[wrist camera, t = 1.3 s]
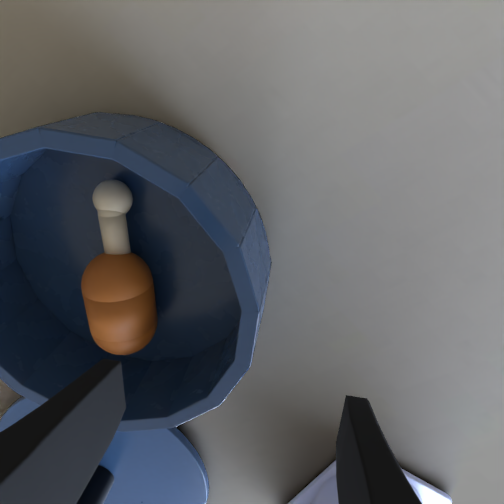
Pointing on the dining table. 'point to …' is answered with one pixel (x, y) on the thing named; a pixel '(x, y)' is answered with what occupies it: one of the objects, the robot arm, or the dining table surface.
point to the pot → (142, 244)
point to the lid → (138, 466)
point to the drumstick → (118, 279)
